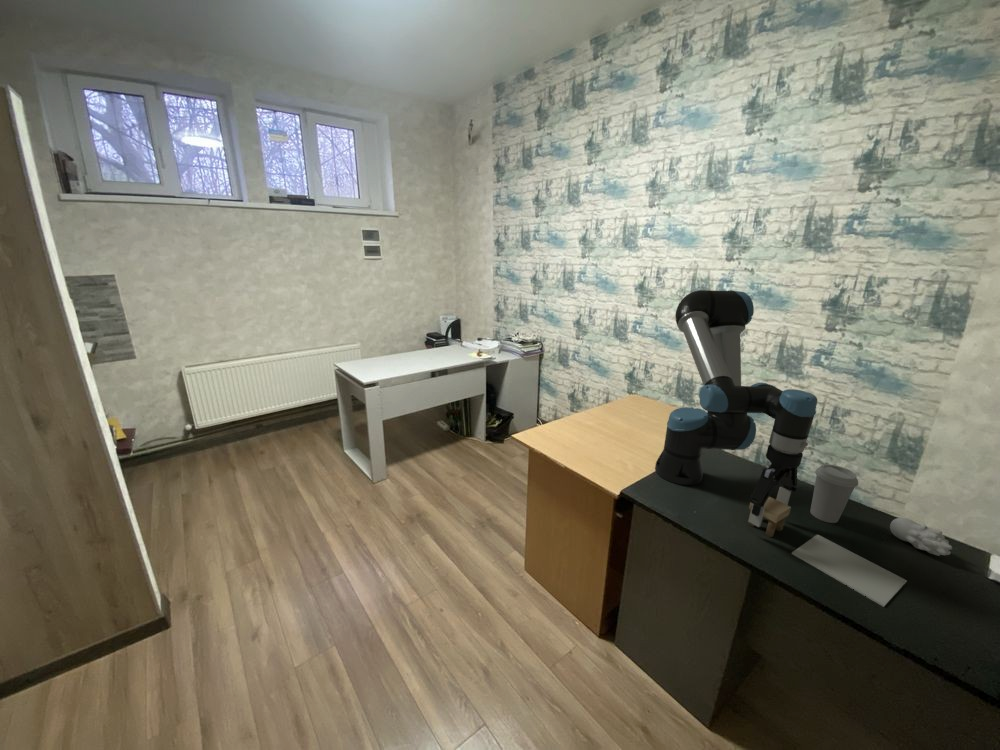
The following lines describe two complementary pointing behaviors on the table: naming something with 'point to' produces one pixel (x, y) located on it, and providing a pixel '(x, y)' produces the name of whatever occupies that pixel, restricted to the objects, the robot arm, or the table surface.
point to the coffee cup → (832, 492)
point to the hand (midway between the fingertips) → (767, 516)
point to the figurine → (920, 536)
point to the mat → (850, 569)
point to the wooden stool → (773, 515)
